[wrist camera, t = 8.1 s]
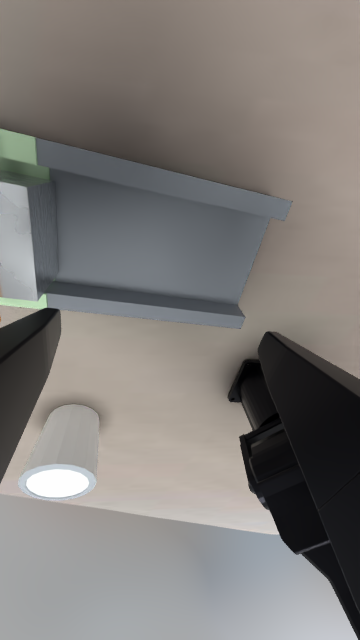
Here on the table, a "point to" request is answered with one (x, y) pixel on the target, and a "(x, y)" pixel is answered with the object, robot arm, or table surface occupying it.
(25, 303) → the track
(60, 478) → the shot glass
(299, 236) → the table surface
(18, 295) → the gauge sled
